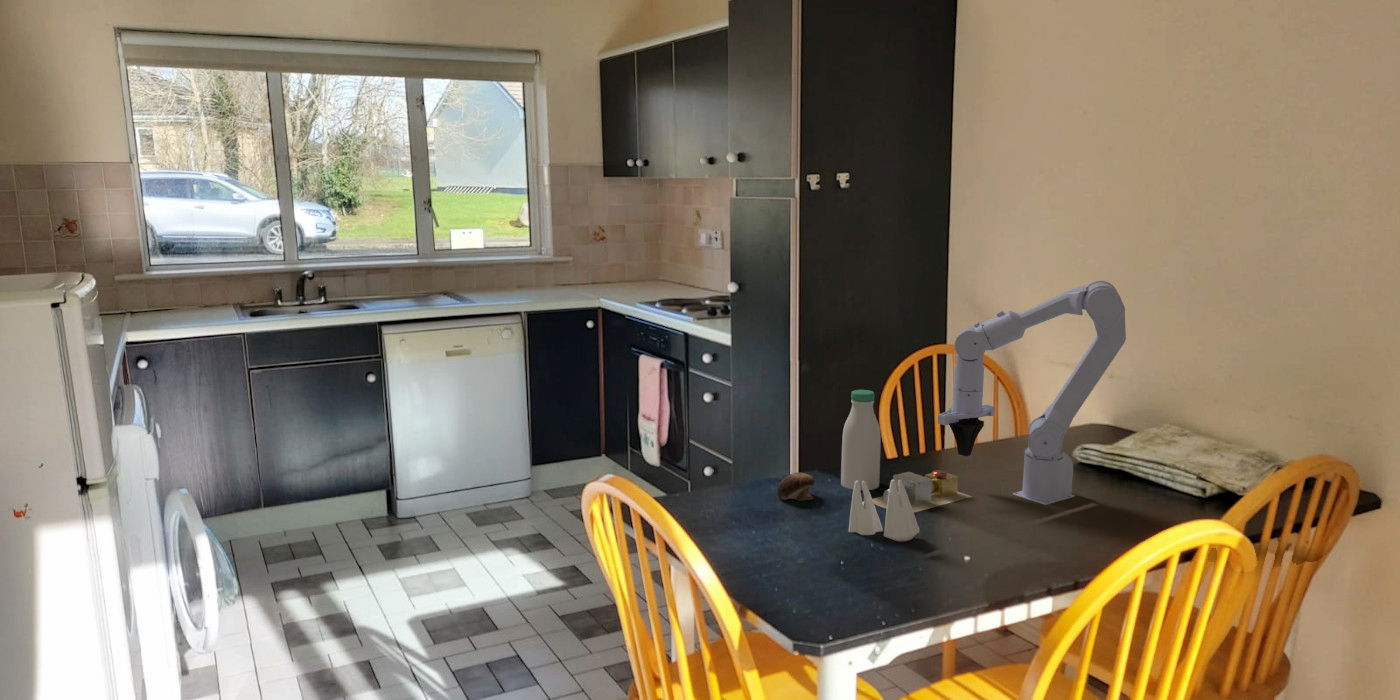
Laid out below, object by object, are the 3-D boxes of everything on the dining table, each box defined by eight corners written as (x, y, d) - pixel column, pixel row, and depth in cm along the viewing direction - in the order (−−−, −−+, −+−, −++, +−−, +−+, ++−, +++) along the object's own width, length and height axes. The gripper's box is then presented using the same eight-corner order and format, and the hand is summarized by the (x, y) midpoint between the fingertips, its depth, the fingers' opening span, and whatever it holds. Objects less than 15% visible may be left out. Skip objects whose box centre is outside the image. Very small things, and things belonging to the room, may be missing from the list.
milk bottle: (881, 493, 196) (885, 396, 192) (843, 493, 196) (846, 395, 193) (875, 481, 204) (879, 387, 200) (838, 481, 204) (841, 387, 200)
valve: (939, 487, 198) (940, 467, 197) (957, 494, 194) (958, 472, 193) (913, 494, 193) (914, 473, 193) (930, 501, 190) (931, 479, 189)
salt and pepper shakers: (920, 540, 171) (922, 480, 169) (912, 548, 168) (915, 486, 166) (855, 528, 177) (857, 469, 175) (846, 535, 174) (848, 475, 172)
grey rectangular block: (908, 494, 194) (909, 471, 193) (930, 502, 189) (931, 479, 188) (877, 502, 189) (878, 478, 188) (900, 511, 184) (900, 487, 183)
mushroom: (828, 490, 188) (811, 461, 189) (793, 510, 186) (776, 481, 187) (817, 497, 196) (801, 469, 197) (784, 516, 193) (768, 488, 195)
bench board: (933, 486, 201) (933, 483, 200) (972, 499, 192) (972, 496, 192) (865, 503, 190) (865, 500, 190) (903, 518, 182) (903, 515, 182)
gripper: (976, 380, 202) (972, 444, 204) (927, 389, 194) (924, 455, 196) (1004, 387, 196) (1000, 452, 198) (954, 396, 188) (951, 464, 190)
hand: (964, 454), depth 197 cm, fingers closed
